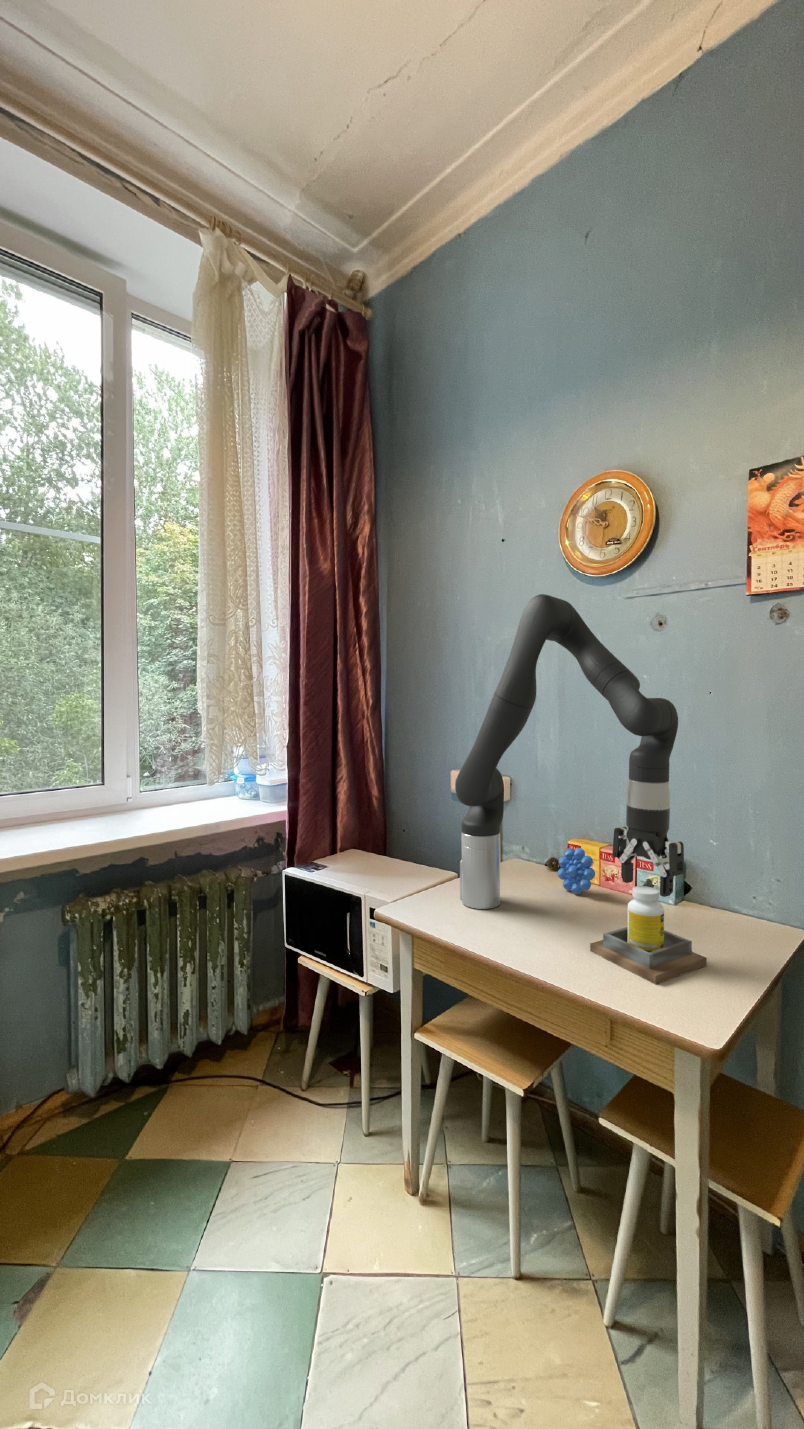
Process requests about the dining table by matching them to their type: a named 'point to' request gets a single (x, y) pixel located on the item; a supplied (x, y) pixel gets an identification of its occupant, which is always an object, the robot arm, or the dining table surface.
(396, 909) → the dining table surface
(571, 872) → the grapes
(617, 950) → the collar board
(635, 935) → the pill bottle
